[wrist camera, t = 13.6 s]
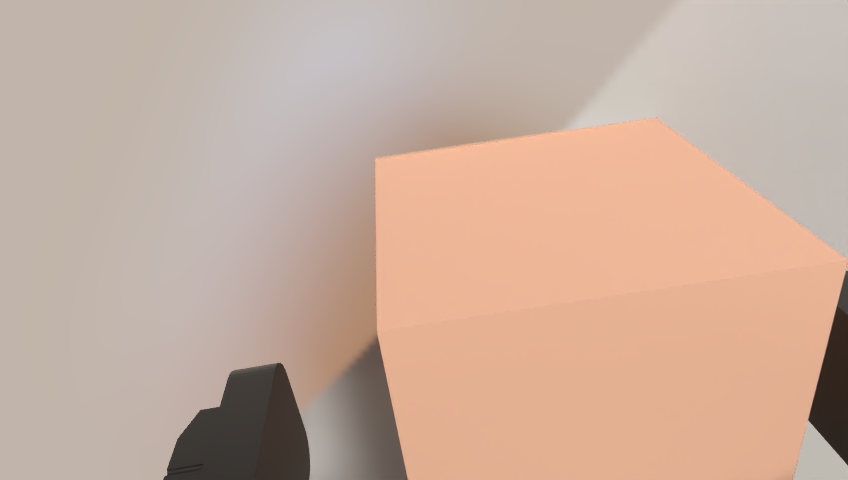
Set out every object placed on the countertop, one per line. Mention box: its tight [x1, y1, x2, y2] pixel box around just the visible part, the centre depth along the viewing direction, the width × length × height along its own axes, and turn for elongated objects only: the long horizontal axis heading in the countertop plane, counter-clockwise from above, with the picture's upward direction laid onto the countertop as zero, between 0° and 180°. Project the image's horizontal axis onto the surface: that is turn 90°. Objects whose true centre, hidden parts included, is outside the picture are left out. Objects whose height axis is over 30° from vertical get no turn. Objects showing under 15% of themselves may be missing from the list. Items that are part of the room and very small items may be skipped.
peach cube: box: [375, 118, 848, 480], centre depth 10 cm, size 5×5×5 cm
